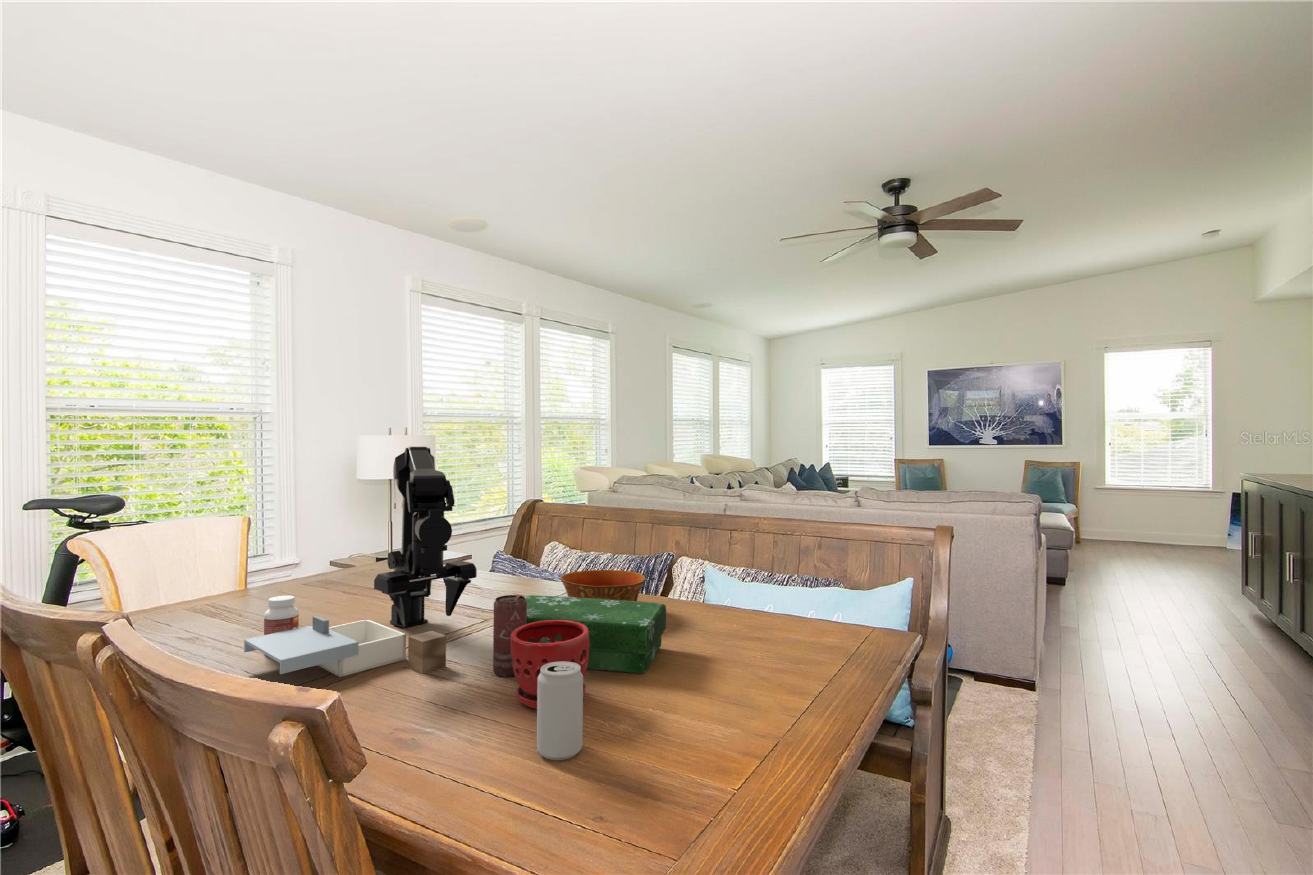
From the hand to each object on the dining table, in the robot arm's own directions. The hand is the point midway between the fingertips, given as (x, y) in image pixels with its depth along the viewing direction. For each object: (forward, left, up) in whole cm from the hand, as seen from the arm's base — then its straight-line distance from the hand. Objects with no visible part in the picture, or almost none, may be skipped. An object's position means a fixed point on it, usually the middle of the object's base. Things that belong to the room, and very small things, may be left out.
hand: (427, 620), depth 127 cm
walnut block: (0, 0, -9) cm, 9 cm away
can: (-9, +14, -9) cm, 19 cm away
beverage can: (+6, +45, -9) cm, 46 cm away
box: (-25, +18, -9) cm, 32 cm away
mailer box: (+7, -15, -9) cm, 19 cm away
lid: (+17, -15, -5) cm, 23 cm away
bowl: (-48, 0, -9) cm, 49 cm away
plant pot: (-5, +30, -9) cm, 32 cm away
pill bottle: (+15, -30, -9) cm, 35 cm away
